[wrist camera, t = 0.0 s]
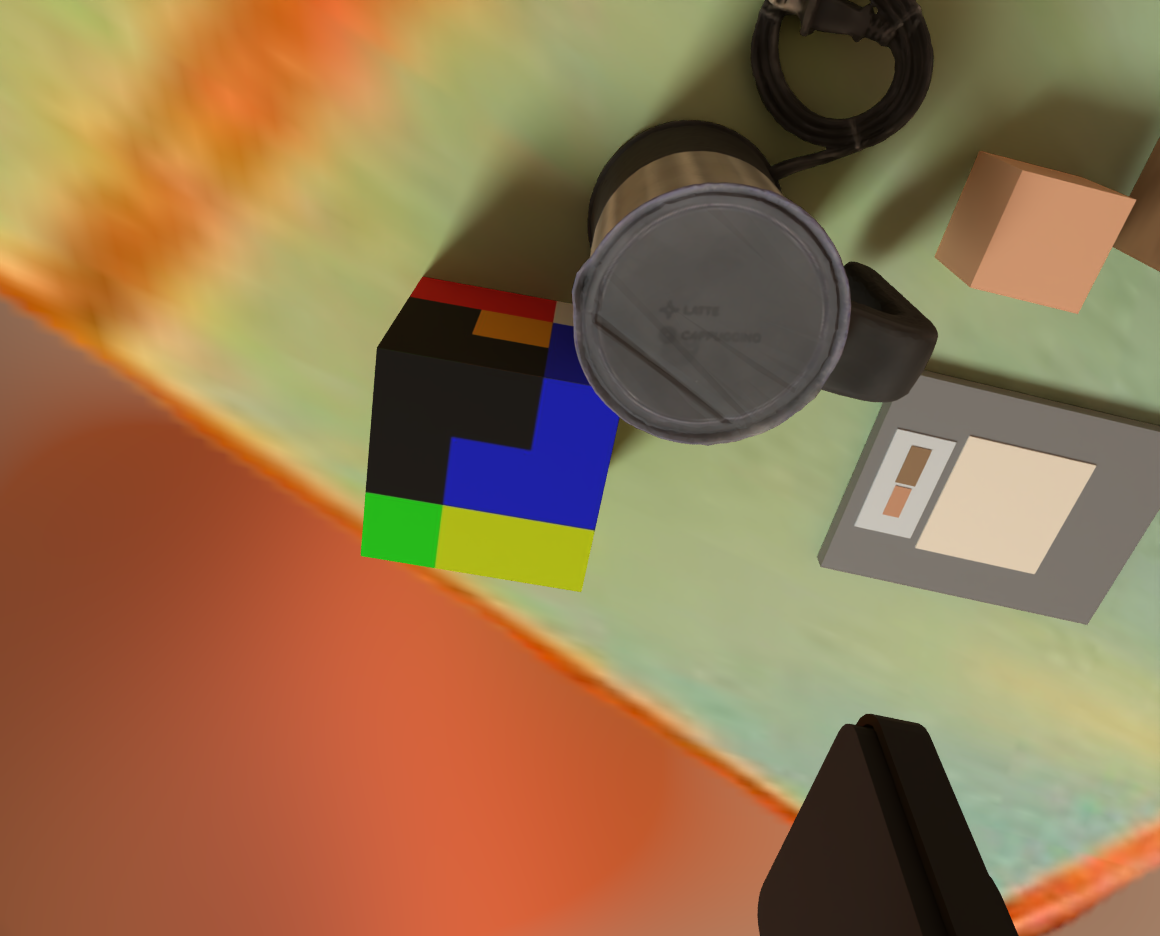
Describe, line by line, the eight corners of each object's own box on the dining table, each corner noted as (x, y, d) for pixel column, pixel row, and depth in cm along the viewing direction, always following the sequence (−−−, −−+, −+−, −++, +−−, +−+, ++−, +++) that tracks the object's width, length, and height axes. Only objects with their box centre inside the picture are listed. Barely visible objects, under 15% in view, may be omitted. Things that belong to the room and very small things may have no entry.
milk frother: (582, 313, 46) (571, 446, 33) (585, -50, 38) (572, -67, 25) (869, 317, 45) (975, 454, 32) (929, -48, 38) (1097, -63, 25)
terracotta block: (978, 150, 41) (1022, 170, 37) (1081, 176, 42) (1136, 199, 37) (933, 256, 44) (969, 287, 39) (1031, 280, 44) (1077, 313, 40)
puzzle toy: (622, 312, 46) (625, 391, 37) (586, 484, 50) (581, 592, 41) (422, 276, 45) (376, 347, 36) (405, 453, 50) (360, 556, 41)
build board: (899, 364, 46) (906, 372, 45) (1190, 433, 48) (1203, 443, 47) (816, 556, 52) (821, 568, 51) (1079, 613, 53) (1088, 626, 52)
